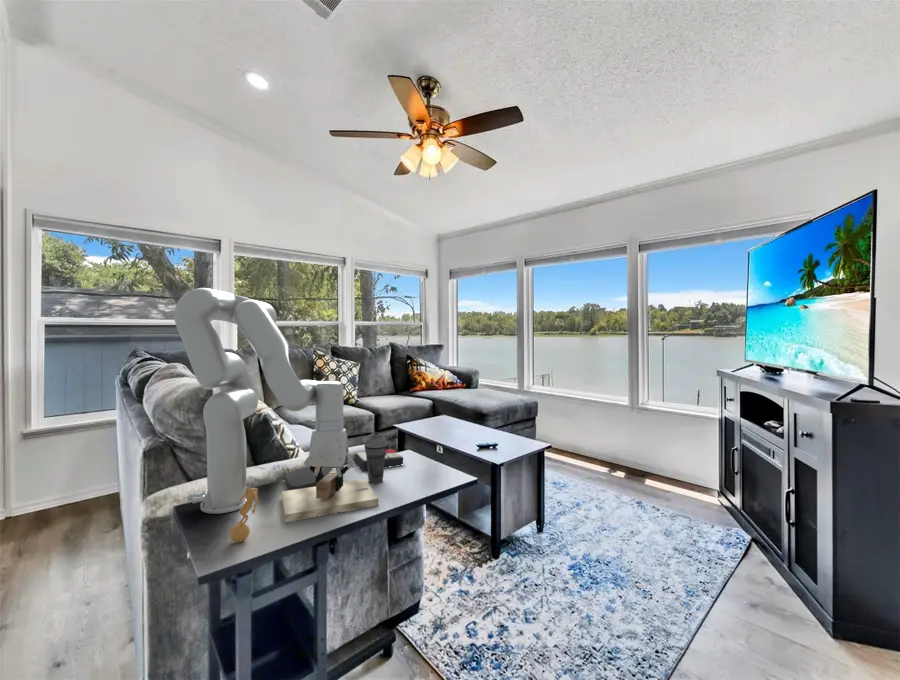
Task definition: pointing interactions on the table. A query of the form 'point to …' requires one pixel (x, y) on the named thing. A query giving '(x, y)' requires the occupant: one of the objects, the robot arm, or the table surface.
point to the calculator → (390, 459)
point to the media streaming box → (303, 478)
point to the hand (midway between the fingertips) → (329, 488)
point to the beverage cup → (375, 456)
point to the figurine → (244, 516)
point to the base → (327, 500)
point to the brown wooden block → (326, 485)
